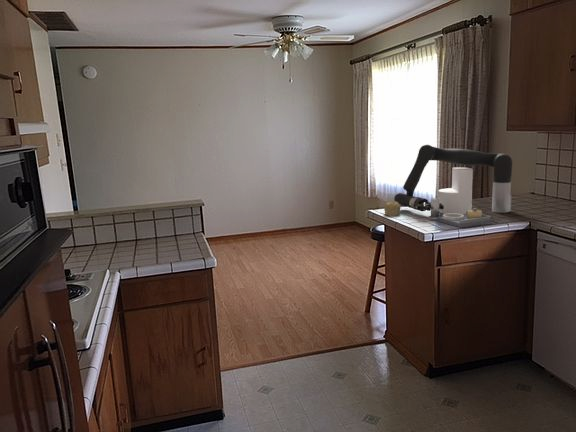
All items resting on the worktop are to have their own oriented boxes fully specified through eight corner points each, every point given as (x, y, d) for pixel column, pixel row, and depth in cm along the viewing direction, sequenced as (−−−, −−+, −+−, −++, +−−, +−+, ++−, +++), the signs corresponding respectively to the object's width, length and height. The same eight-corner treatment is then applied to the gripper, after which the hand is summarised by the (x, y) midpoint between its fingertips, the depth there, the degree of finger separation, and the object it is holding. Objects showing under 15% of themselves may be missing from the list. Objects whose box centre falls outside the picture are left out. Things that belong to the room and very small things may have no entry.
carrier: (467, 216, 263) (468, 203, 261) (491, 222, 246) (492, 208, 244) (437, 220, 256) (438, 207, 255) (460, 227, 239) (460, 212, 238)
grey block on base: (436, 217, 264) (436, 197, 262) (443, 219, 258) (444, 199, 256) (425, 219, 262) (426, 198, 260) (433, 221, 256) (433, 200, 254)
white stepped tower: (469, 208, 286) (470, 167, 281) (473, 214, 268) (475, 170, 263) (436, 208, 290) (437, 167, 285) (439, 214, 272) (440, 171, 267)
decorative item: (394, 222, 274) (405, 208, 272) (380, 212, 275) (391, 198, 272) (393, 219, 283) (404, 206, 281) (380, 209, 284) (390, 196, 281)
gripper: (408, 198, 269) (425, 202, 255) (429, 196, 274) (447, 200, 259) (408, 211, 271) (425, 216, 256) (429, 208, 276) (447, 213, 261)
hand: (436, 208), depth 258 cm, fingers open, 8 cm apart
